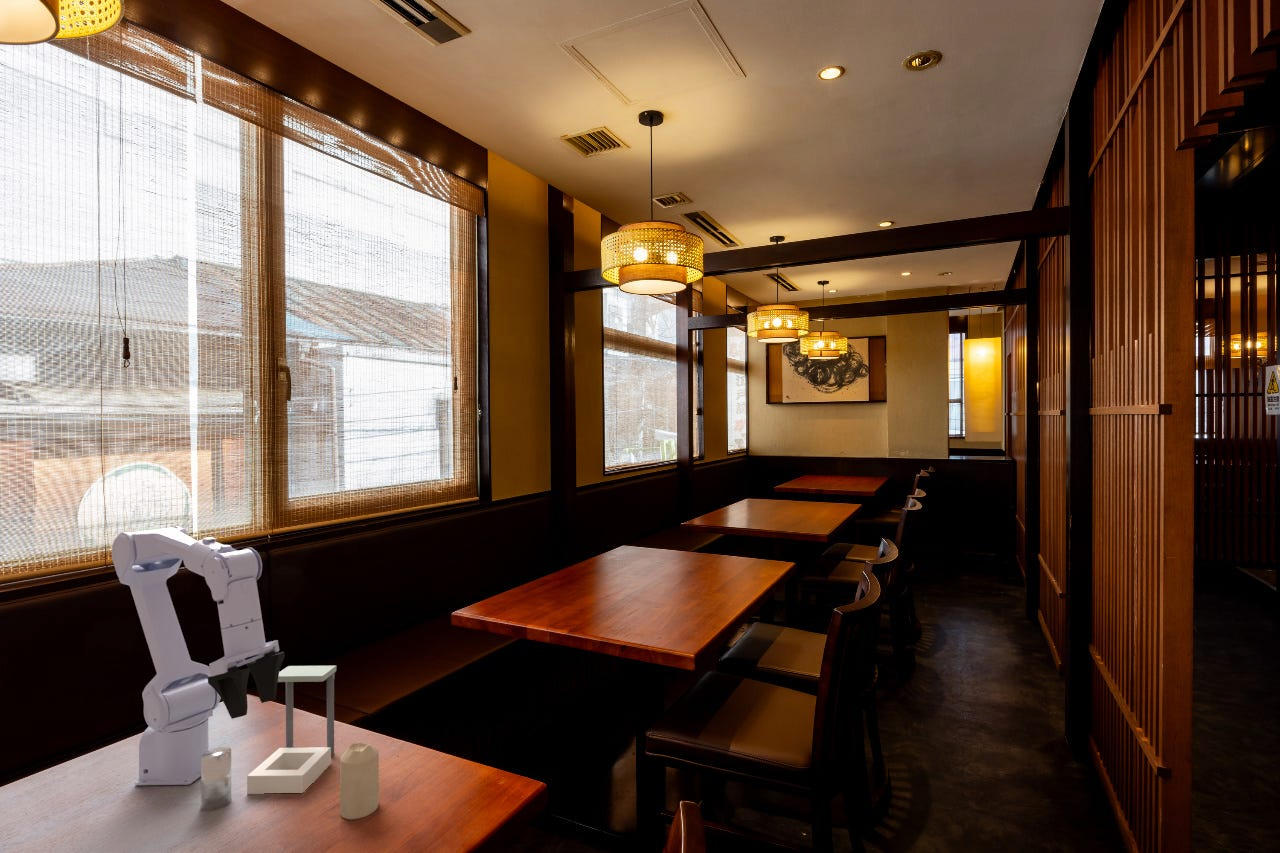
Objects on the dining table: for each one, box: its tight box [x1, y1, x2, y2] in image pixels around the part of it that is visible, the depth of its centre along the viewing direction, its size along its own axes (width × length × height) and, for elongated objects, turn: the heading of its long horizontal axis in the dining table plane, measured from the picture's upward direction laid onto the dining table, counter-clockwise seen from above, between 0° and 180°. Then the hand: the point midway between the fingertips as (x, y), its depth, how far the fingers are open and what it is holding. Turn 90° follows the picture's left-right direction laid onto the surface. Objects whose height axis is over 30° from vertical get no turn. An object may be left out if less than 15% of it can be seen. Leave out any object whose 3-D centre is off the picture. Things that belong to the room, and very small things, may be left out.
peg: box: [200, 746, 232, 812], centre depth 100 cm, size 4×4×8 cm
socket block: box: [246, 746, 332, 795], centre depth 107 cm, size 9×9×3 cm
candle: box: [339, 742, 380, 820], centre depth 98 cm, size 6×6×10 cm
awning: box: [278, 665, 337, 756], centre depth 113 cm, size 9×5×16 cm, turn 90°
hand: (254, 708), depth 100 cm, fingers open, 7 cm apart
